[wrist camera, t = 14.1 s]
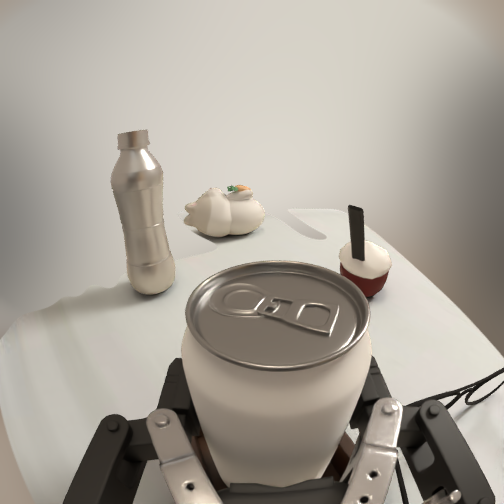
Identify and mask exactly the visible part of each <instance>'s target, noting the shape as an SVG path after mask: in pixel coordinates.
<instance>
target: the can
mask: <svg viewBox="0 0 504 504" xmlns="http://www.w3.org/2000/svg"><path fill="white" fill-rule="evenodd" d="M185 316H186V322H187V328H186V330H185V333H184V337H183V341H182V350H181V352H182V362H183V368H184V372H185V376H186V380H187V383H188V387H189V390H190V394H191V397H192V401H193V404H194V407H195V410H196V413H197V416H198V419H199V422H200V425H201V428H202V431H203V434H204V437H205V440H206V442H207V445H208V448H209V450H210V453H211V456H212V458H213V461H214V463H215V466H216V468H217V470H218V473H219V475H220V477H221V478H222V480H223V482H224V483H225V484H226V485H227V487H228V488H230V483H258V484H263V485H269V486H275V487H287V486H290V485H293V484H296V483H300V482H303V481H306V480H309V479H317V478H321V476H322V475H323V473H324V471H325V470H326V468H327V466H328V464H329V462H330V460H331V459H332V457H333V455H334V453H335V451H336V449H337V447H338V445H339V443H340V441H341V439H342V436H343V434H344V432H345V430H346V428H347V426H348V423H349V421H350V419H351V416H352V414H353V412H354V409H355V407H356V404H357V402H358V399H359V397H360V394H361V391H362V389H363V386H364V383H365V380H366V377H367V374H368V371H369V367H370V362H371V355H372V347H371V340H370V335H369V332H368V329H367V328H368V325H369V321H370V308H369V304H368V301H367V299H366V297H365V295H364V294H363V292H362V291H361V290H360V289H359V288H358V287H357V286H356V285H355V284H354V283H353V282H352V281H350V280H349V279H347V278H346V277H344V276H342V275H340V274H338V273H336V272H334V271H332V270H329V269H327V268H324V267H320V266H317V265H313V264H308V263H302V262H295V261H260V262H252V263H247V264H242V265H238V266H234V267H231V268H228V269H225V270H223V271H220V272H218V273H216V274H214V275H212V276H211V277H209V278H207V279H206V280H205V281H203V282H202V283H201V284H200V285H199V286H198V287H197V288H196V289H195V290H194V291H193V292H192V294H191V295H190V297H189V299H188V302H187V305H186V310H185Z"/></svg>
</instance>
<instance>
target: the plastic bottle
mask: <svg viewBox="0 0 504 504" xmlns="http://www.w3.org/2000/svg"><path fill="white" fill-rule="evenodd" d="M149 144H150V142H149V140H148V131H147V130H139V131H132V132H126V133H121V134H118V150H119V149H120V151H121V153H120V157H119V159H118V161H117V163H116V164H115V167H114V169H113V172H112V175H111V186H112V189H113V193H114V197H115V201H116V204H117V207H118V211H119V215H120V220H121V223H122V229H123V232H124V240H125V248H126V256H127V274H128V278H129V280H130V283H131V285H132V287H133V288H134V289H135V290H137V291H138V292H139V293H142V294H146V295H151V294H157V293H160V292H163V291H165V290H167V289H168V288H169V287H170V286H171V285H172V283H173V281H174V279H175V263H174V260H173V257H172V254H171V251H170V250H169V245H168V241H167V236H166V232H165V227H164V219H163V204H162V202H163V171H162V168H161V166H160V164H159V163H158V161H157V160H156V159H155V158H154V156H153V155H152V154H151V153H150V152H149V151H148V148H147V145H149Z"/></svg>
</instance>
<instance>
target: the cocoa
mask: <svg viewBox="0 0 504 504" xmlns="http://www.w3.org/2000/svg"><path fill="white" fill-rule="evenodd" d="M348 213H349V224H350V237H351V242H349V243H347V244H346V245H345V246H344V247H343V248H341V249H340V253H339V259H340V261H341V262H340V274H341V275H342V276H344V277H346V278H347V279H349V280H350V281H352V282H353V283H354V284H355V285H356V286H357V287H358V288H359V289H360V290H361V291H362V292H363V294H364V295H365V297H369V296H373V295H375V294H376V293H377V292H379V291H380V290H381V289H382V288H383V286H384V284H385V282H386V280H387V276H388V272H389V270H390V268H391V266H392V262H391V260H390V257H389V255H388V252H387V251H386V250H385V249H384V248H382V247H381V246H377V245H375V244H374V243H372V242H370V241H367V240H364V215H363V209H362V208H359V207H356V206H352V205H349V206H348Z"/></svg>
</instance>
